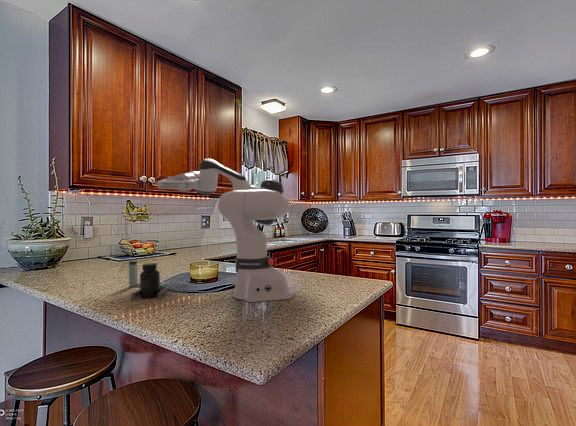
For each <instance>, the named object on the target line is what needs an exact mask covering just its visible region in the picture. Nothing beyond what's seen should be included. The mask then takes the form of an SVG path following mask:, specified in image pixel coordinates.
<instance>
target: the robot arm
mask: <svg viewBox="0 0 576 426" xmlns="http://www.w3.org/2000/svg"><path fill="white" fill-rule="evenodd" d="M219 174H220V175H222V176H224V177H226V178H227V179H229V180H230V183H231V185H232V190H231V191H226V192H224V193H222V194H221V195H220V197H219V200H218V203H217V204H218V206H217V207H218V210H219V213H220V215H221V216H222V217H224V218H225V220H227V221H228V222H229V224H230V225H231V228H232V229H233V232H234V235H235V242H236V243H235V245H236V257H235V261H234V262H235V263H234V265H235V267H234V268H235V273H236V275H235V276H236V277H235V285H234V290H233V294H232V296H233V298H235V299H237V300H243V301H245V302H248V303H258V302H266V301H267V302H268V301H281V300H292V298H293V297H294V296H295V293H294V292H295V291H294V288H291V287H289V285H288V280H287V277H286V276H285V275H284V274H283V273H282V272H280V271H279V270H277V268H275V267H274V266H273V265H274V259H273V258H272V257H270V256H268V251H267V249H268V248H267V242H268V241H267V236H266V234H265V233H264V232H263V231H262V230H260V229H258V228H257V227H256V225H255V223H257V224H259V225H261V226H271V225H273V224H274V222H275V220H277V219H281V218H283V217H285V216H286V215H287V214H288V213H290V212H289V211H290V208H291V207H290V206H291V205H290V202H289V200H288V199H287V198H286V197H285V196H283V193H284V187H283V184H282V183H281V182H280V181H279V180H277V179H275V178H266V179H263V180H262V182H261V184H260V186H257V185H254V184H252V183H250V182H249V181H248V180H247V178H246V177H245V175H243V174H242V173H240V172H239V171H237V170H235V169H232V168H230V167H228V166H226V165H224V164H222V163H220V162H218V161H217V160H214V159H212V158H203V160H201V161H200V163H199V170H192V171H188V172H185V173H181V174H177V175H170V176H167V178H162V179H160V180H158V181H157V182H156V185H157V188H158V190H177V191H181V192H188V191H190V190H194V191H195V192H196V193H198V194H200V195H205V196H206V195H207V196H209V195H211V194H214V193H215V192H216V191H217V188H218V180H219ZM254 222H255V223H254Z"/></svg>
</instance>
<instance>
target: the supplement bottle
mask: <svg viewBox="0 0 576 426" xmlns="http://www.w3.org/2000/svg"><path fill="white" fill-rule="evenodd" d="M157 269H158V267H157V263H155V262H153V263H152V262H149V263H143V264H142V271H141V272H140V274H139V282H140V286H139V289H140V296H139V297H141V299H152V298H157V293H158V292H160V282H161V276H160V275H161V273H160V271H159V270H157Z"/></svg>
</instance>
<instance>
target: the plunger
mask: <svg viewBox="0 0 576 426" xmlns="http://www.w3.org/2000/svg"><path fill="white" fill-rule="evenodd" d="M128 262H129V263H128V281H129V282H128V285H129V287H137V286H139V287H140V281H138V279H139V277H138V261H137V260H130V261H128ZM166 284H167V285H168V282H167V281H160V291H161V290H163V289H164V288H166V286H167V285H166Z"/></svg>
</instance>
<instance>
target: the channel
mask: <svg viewBox="0 0 576 426" xmlns="http://www.w3.org/2000/svg"><path fill="white" fill-rule="evenodd" d="M167 294H169V287H165V288H164V289H163V290H161V291H160V292H158V293H157V297H156V298H157V300H160V299H162V298H164V297H165V296H166V295H167ZM130 297H131V300H136V299H137V298H139V297H141V296H140V288H139V289H137V290H135V291H134V292H132V293H131V296H130Z"/></svg>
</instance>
